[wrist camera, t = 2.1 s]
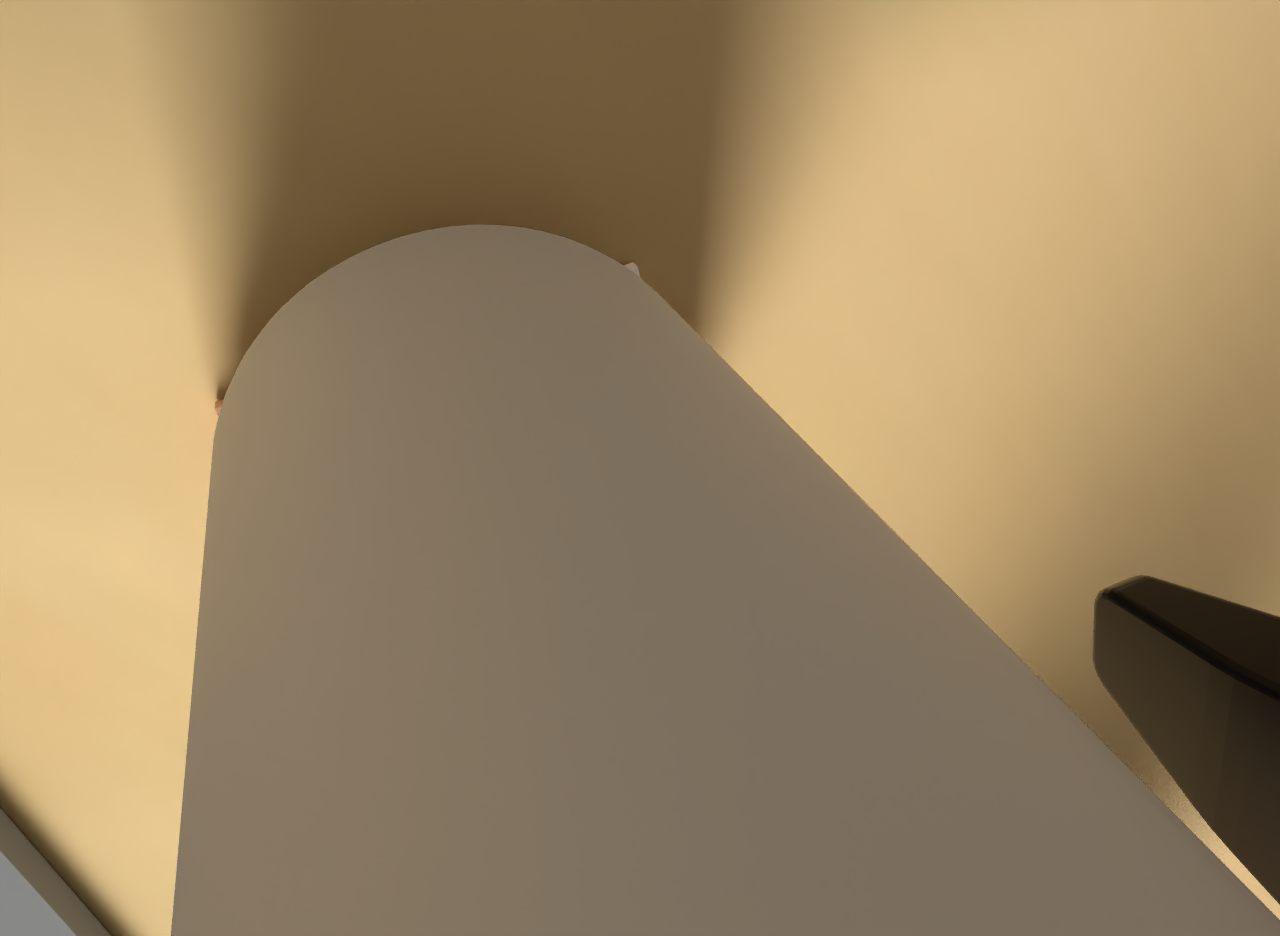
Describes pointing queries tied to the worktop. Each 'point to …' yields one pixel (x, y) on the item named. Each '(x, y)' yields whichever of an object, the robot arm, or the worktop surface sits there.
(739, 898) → the beverage can
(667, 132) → the worktop surface
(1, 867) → the slate mat
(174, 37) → the worktop surface
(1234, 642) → the robot arm
